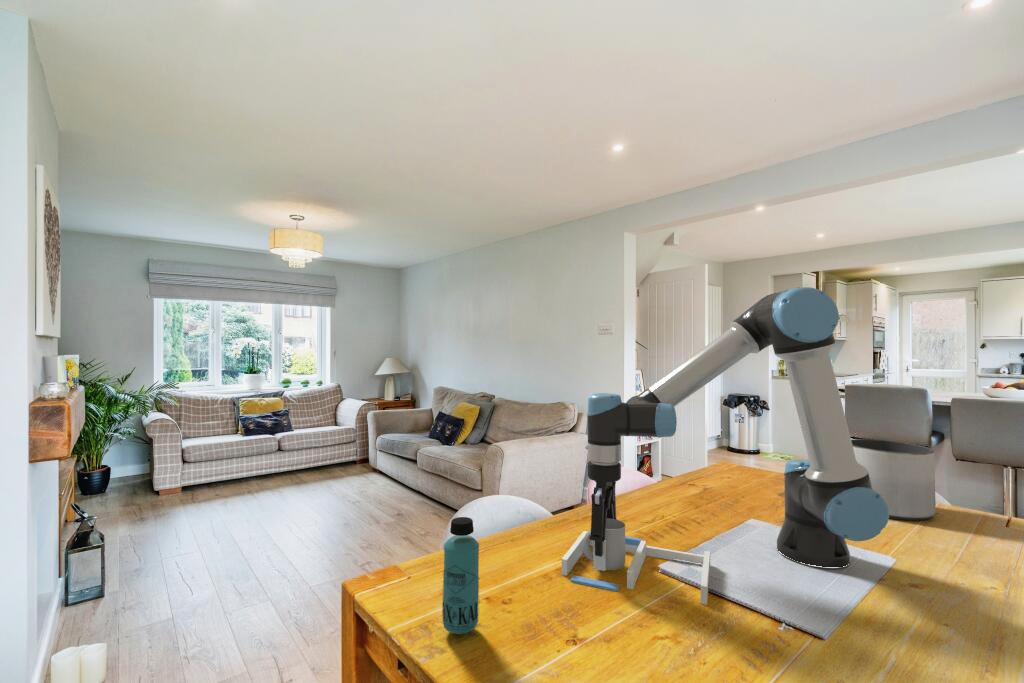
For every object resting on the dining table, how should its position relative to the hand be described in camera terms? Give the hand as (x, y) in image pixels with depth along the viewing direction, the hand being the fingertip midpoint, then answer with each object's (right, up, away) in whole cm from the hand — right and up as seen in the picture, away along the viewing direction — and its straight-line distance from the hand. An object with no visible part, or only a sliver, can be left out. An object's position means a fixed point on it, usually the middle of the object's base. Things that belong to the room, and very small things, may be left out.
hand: (604, 561), depth 111 cm
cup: (0, 0, -1) cm, 1 cm away
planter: (+97, -3, +41) cm, 105 cm away
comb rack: (+7, -2, -1) cm, 8 cm away
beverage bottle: (-30, -1, -25) cm, 39 cm away
